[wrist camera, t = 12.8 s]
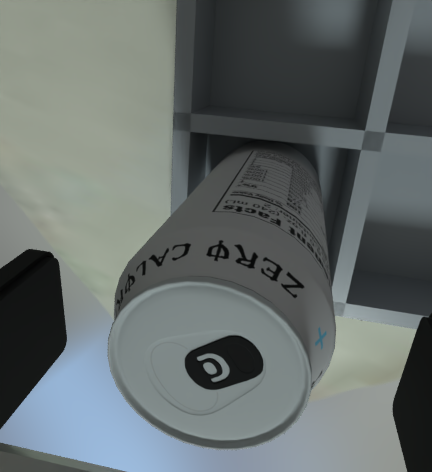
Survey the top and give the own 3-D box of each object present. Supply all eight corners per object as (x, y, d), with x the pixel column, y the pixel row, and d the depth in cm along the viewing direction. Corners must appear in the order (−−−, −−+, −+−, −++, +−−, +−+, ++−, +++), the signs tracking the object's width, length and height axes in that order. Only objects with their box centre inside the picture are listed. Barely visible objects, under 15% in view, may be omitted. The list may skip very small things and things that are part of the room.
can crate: (206, -82, 19) (180, -123, 15) (627, -72, 17) (734, -117, 12) (189, 253, 26) (168, 287, 22) (485, 298, 23) (523, 347, 19)
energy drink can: (193, 170, 23) (36, 315, 10) (288, 115, 21) (254, 204, 8) (246, 256, 25) (170, 487, 11) (339, 213, 23) (387, 435, 9)
